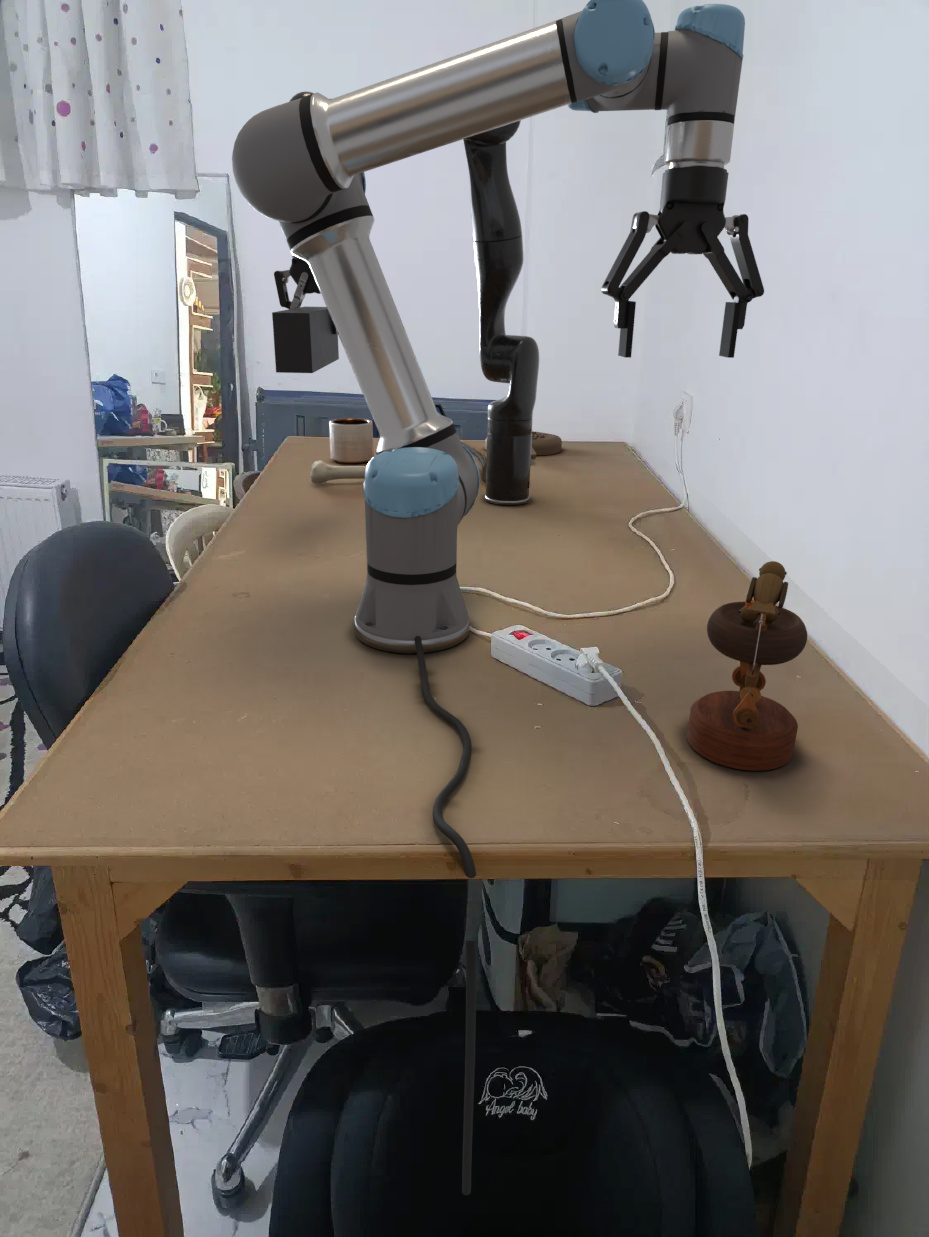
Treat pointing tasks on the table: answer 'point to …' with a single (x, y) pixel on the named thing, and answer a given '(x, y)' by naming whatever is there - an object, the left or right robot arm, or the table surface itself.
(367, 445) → the planter
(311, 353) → the box
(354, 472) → the dog toy
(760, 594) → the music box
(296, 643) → the table surface
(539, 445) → the ice cream bar
